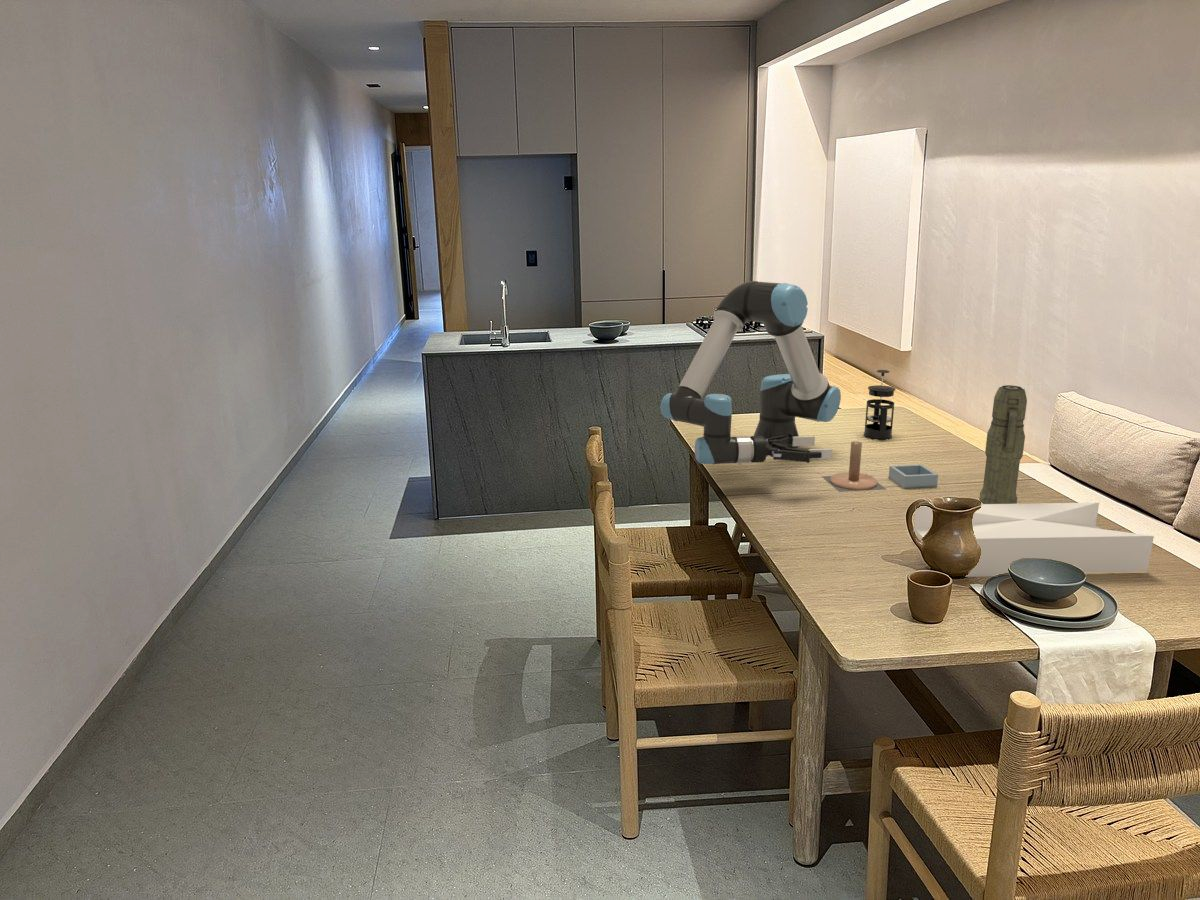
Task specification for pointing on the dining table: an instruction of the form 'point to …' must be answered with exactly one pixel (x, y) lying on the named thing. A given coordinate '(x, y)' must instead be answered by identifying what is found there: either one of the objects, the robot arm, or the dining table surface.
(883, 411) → the french press
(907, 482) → the dish
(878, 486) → the mat
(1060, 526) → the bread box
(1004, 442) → the green carved statue
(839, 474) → the lid
